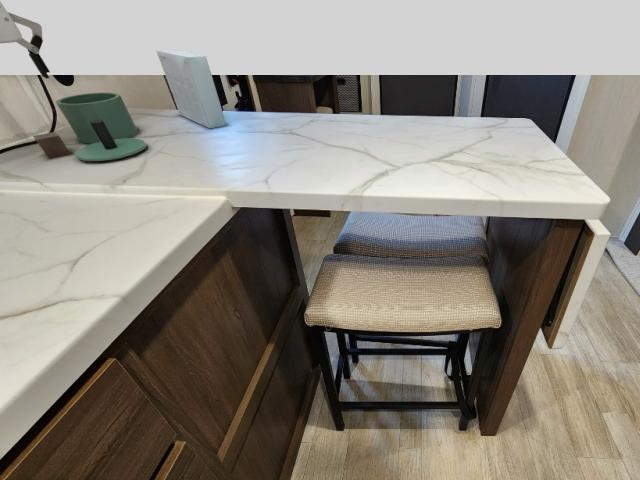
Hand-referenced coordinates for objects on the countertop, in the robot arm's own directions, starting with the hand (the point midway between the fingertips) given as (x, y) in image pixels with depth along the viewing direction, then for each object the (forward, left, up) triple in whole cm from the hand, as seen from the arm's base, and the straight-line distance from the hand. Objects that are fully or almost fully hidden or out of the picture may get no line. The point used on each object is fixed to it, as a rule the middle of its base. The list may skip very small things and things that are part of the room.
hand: (15, 80), depth 65 cm
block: (-1, +2, -14) cm, 14 cm away
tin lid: (+8, -6, -14) cm, 17 cm away
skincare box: (+34, +6, -15) cm, 37 cm away
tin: (+11, +9, -14) cm, 20 cm away
